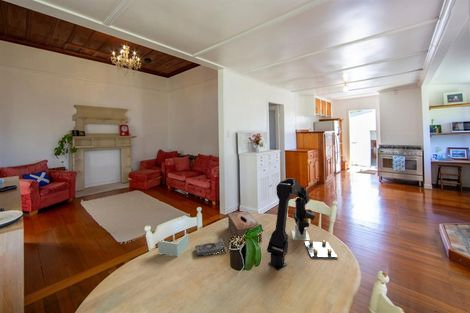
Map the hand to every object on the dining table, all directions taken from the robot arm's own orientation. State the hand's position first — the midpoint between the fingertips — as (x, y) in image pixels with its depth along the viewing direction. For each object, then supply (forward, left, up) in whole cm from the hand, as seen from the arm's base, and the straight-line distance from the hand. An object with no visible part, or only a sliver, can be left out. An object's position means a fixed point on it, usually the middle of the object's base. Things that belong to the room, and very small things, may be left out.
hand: (300, 231), depth 133 cm
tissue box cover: (-25, +25, -3) cm, 35 cm away
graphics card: (-51, +22, -3) cm, 56 cm away
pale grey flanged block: (0, 0, -3) cm, 3 cm away
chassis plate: (-6, -17, -2) cm, 18 cm away
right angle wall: (-67, +36, -3) cm, 76 cm away
